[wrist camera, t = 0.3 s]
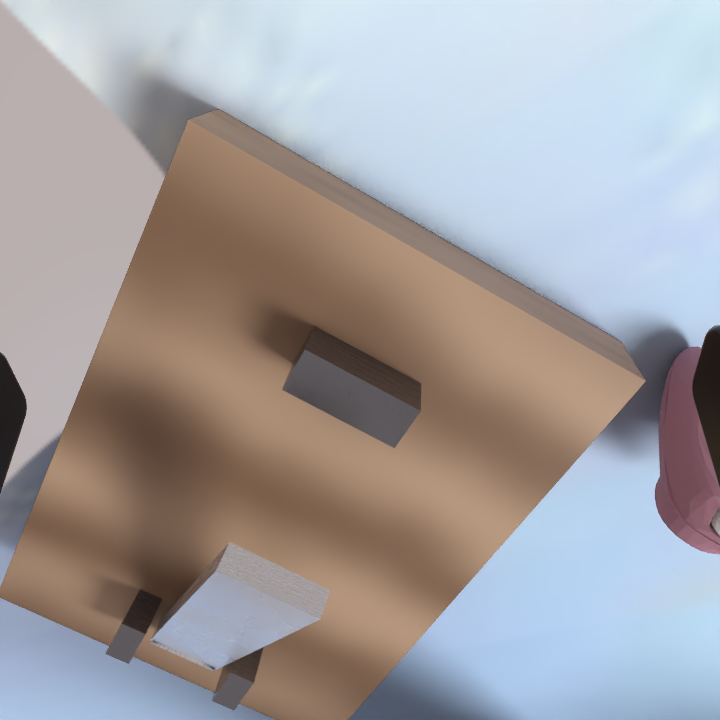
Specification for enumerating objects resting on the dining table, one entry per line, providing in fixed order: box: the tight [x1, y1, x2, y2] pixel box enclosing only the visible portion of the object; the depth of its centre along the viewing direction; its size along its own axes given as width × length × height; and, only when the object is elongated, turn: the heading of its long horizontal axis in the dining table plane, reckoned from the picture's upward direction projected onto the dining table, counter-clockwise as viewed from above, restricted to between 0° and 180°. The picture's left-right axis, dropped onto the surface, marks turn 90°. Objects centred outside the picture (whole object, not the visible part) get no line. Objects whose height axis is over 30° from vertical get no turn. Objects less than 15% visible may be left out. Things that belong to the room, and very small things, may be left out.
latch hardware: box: [106, 326, 421, 710], centre depth 24 cm, size 16×6×2 cm, turn 151°
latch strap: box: [151, 542, 330, 671], centre depth 23 cm, size 14×3×1 cm, turn 152°
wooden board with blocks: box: [0, 109, 646, 720], centre depth 26 cm, size 22×16×3 cm
